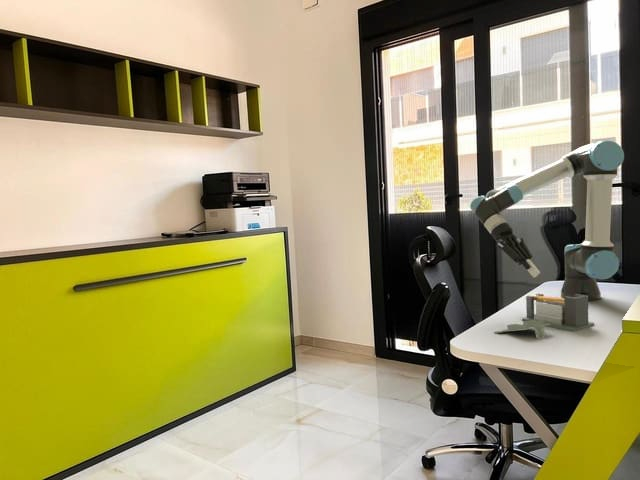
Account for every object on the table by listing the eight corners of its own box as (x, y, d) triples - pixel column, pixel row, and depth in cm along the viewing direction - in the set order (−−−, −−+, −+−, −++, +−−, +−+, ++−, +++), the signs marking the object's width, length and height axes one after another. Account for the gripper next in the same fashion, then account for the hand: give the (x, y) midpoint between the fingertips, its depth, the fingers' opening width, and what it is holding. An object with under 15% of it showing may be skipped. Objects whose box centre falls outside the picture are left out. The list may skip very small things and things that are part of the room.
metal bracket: (556, 317, 156) (522, 324, 150) (560, 334, 155) (527, 342, 149) (522, 320, 169) (490, 327, 163) (526, 337, 168) (494, 344, 162)
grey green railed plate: (522, 320, 175) (522, 318, 175) (543, 315, 181) (543, 312, 181) (572, 331, 158) (572, 329, 158) (594, 325, 164) (594, 322, 164)
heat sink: (524, 317, 176) (524, 296, 175) (541, 313, 180) (540, 293, 179) (561, 325, 163) (560, 302, 162) (577, 320, 167) (577, 298, 167)
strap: (533, 300, 175) (532, 296, 175) (538, 298, 177) (538, 295, 177) (573, 303, 162) (573, 299, 162) (579, 302, 163) (578, 298, 163)
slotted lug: (564, 325, 163) (564, 296, 162) (577, 321, 166) (576, 294, 166) (575, 327, 160) (575, 298, 159) (588, 323, 163) (588, 295, 162)
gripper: (504, 233, 194) (542, 279, 181) (481, 236, 188) (518, 283, 174) (515, 220, 189) (554, 266, 176) (492, 222, 182) (531, 270, 169)
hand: (536, 275), depth 175 cm, fingers closed
